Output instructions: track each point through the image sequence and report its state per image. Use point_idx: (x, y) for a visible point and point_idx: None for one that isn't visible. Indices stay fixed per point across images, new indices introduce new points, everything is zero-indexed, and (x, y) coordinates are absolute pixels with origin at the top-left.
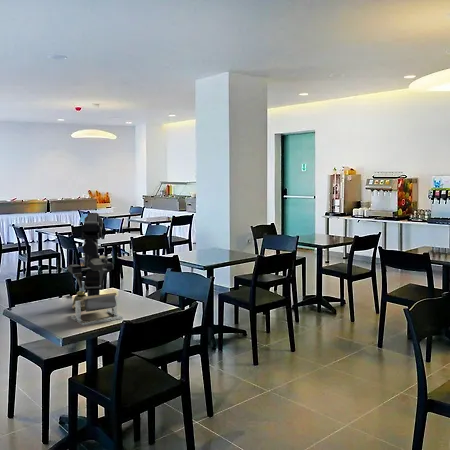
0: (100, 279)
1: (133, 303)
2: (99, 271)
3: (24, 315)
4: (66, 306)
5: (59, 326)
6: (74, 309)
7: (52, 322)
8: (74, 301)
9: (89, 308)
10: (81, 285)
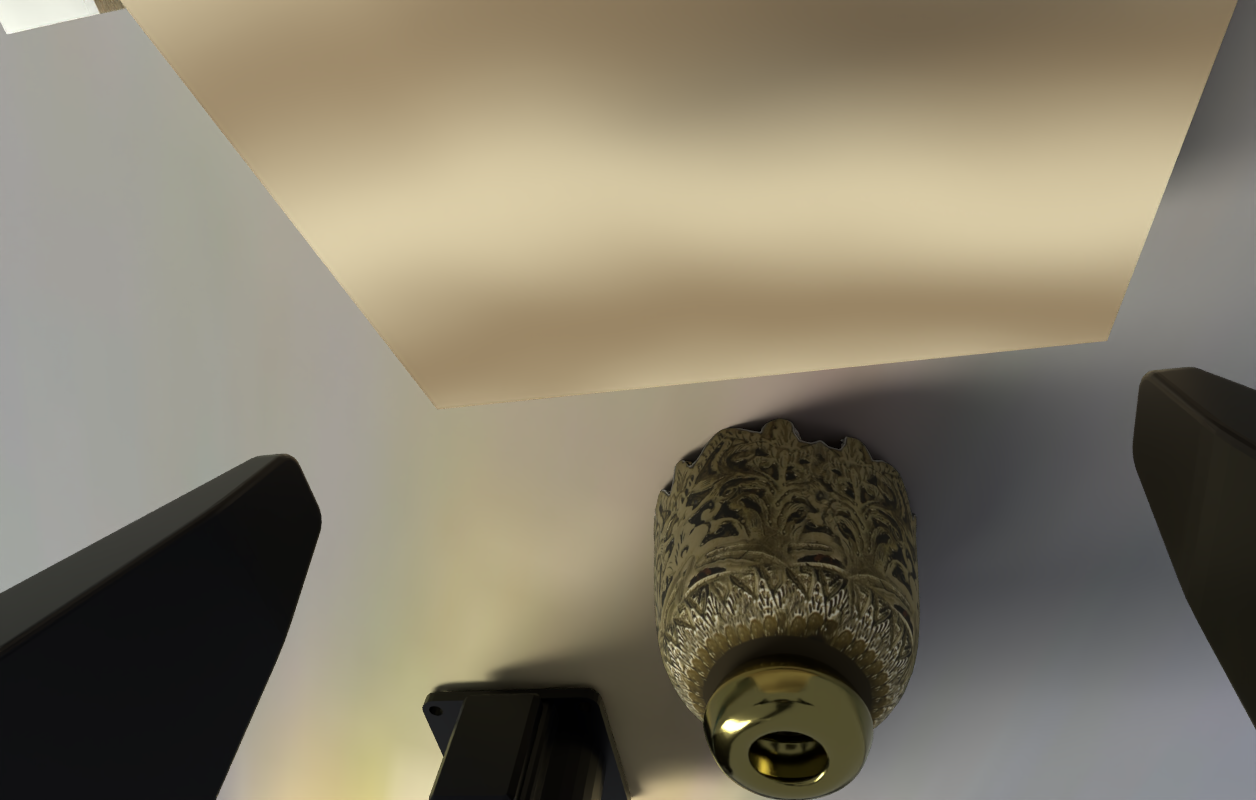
0: (197, 701)
1: (15, 488)
2: None
3: None
4: (926, 697)
5: None
6: (905, 495)
7: None
8: (917, 603)
9: None
10: (1244, 408)
